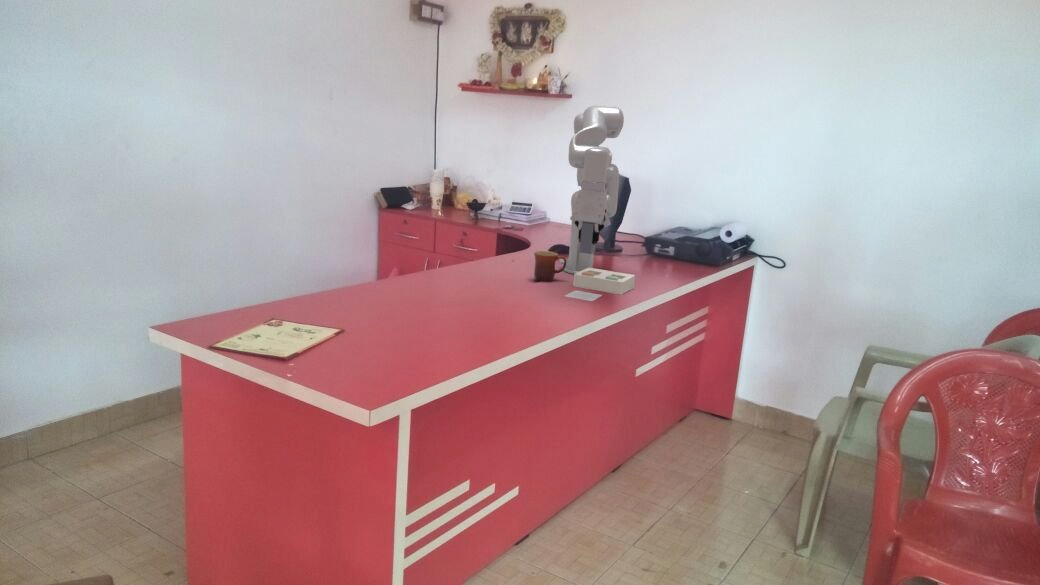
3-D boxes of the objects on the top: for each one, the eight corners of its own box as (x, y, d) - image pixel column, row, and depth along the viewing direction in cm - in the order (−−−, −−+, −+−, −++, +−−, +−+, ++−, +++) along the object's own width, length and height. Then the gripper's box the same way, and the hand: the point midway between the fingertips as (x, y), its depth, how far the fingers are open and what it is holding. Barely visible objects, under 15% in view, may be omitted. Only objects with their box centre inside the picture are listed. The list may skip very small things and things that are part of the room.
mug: (530, 282, 255) (532, 254, 253) (532, 277, 264) (534, 250, 261) (564, 285, 254) (566, 257, 252) (565, 280, 263) (567, 252, 260)
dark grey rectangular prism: (579, 252, 235) (582, 222, 232) (584, 250, 238) (586, 221, 236) (590, 254, 233) (593, 224, 231) (595, 252, 237) (597, 222, 234)
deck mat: (563, 297, 237) (563, 296, 237) (575, 291, 246) (575, 290, 246) (591, 303, 233) (591, 301, 233) (602, 296, 242) (602, 295, 242)
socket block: (572, 287, 252) (574, 271, 250) (587, 280, 264) (588, 265, 262) (621, 296, 244) (622, 280, 243) (633, 288, 256) (635, 273, 255)
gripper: (565, 185, 231) (560, 240, 235) (613, 190, 224) (608, 247, 228) (573, 183, 237) (569, 237, 242) (621, 188, 230) (616, 244, 235)
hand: (588, 241), depth 235 cm, fingers closed on dark grey rectangular prism, 4 cm apart
